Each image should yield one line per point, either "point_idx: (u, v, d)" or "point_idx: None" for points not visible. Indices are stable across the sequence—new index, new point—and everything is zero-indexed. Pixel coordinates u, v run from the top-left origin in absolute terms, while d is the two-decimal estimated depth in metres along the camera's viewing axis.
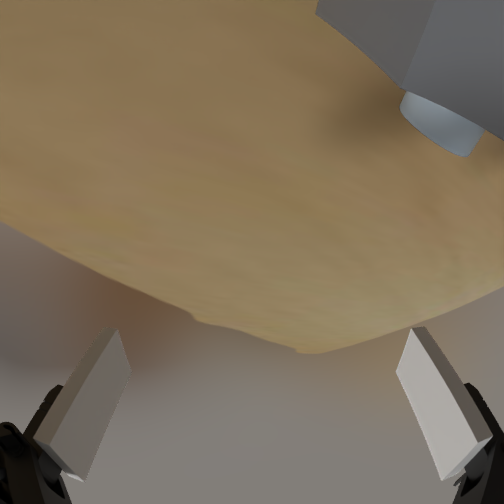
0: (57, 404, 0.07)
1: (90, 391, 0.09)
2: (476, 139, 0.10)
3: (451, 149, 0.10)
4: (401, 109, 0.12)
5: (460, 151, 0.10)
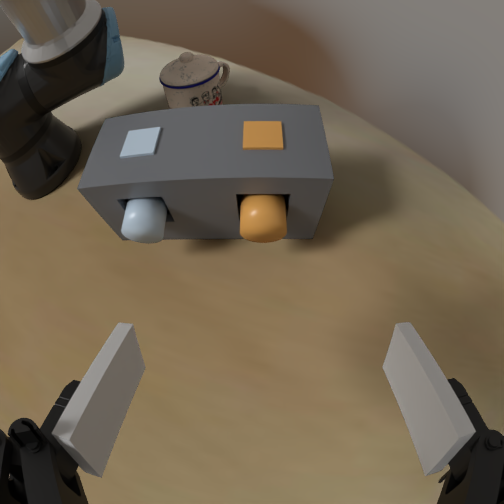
0: (75, 399, 0.08)
1: (108, 386, 0.09)
2: (144, 213, 0.27)
3: (130, 222, 0.26)
4: (125, 235, 0.29)
5: (136, 221, 0.26)
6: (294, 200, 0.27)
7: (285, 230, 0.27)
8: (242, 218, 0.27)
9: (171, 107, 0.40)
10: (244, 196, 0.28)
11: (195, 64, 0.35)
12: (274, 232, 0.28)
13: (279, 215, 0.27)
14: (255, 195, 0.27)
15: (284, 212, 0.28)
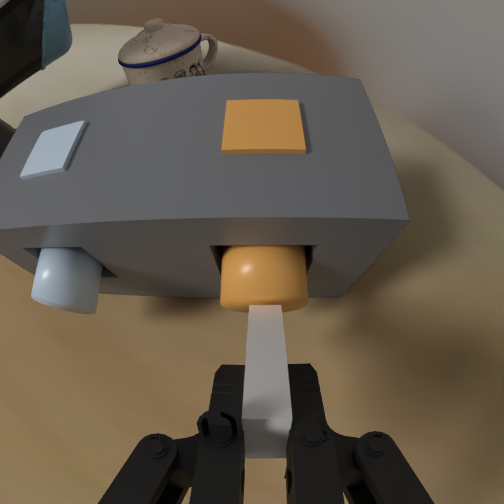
0: (250, 379, 0.09)
1: None
2: (57, 276, 0.13)
3: (37, 292, 0.13)
4: (43, 302, 0.15)
5: (44, 290, 0.13)
6: (325, 253, 0.14)
7: (305, 301, 0.14)
8: (224, 280, 0.14)
9: None
10: None
11: (165, 32, 0.22)
12: (284, 303, 0.15)
13: (295, 276, 0.14)
14: None
15: (304, 266, 0.15)
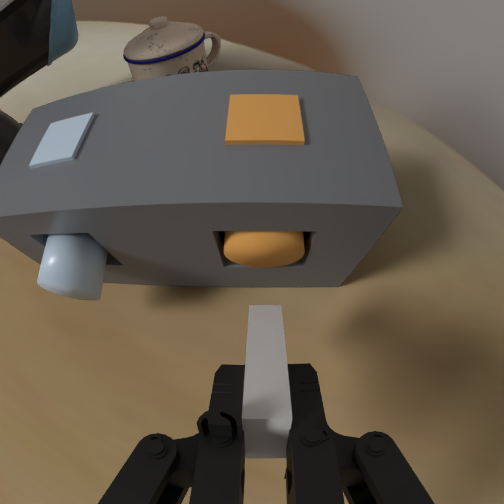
0: (250, 379, 0.09)
1: None
2: (63, 261, 0.14)
3: (44, 277, 0.14)
4: (48, 289, 0.16)
5: (50, 275, 0.14)
6: (322, 241, 0.15)
7: (302, 250, 0.16)
8: None
9: None
10: None
11: (169, 30, 0.22)
12: (283, 253, 0.16)
13: None
14: None
15: None
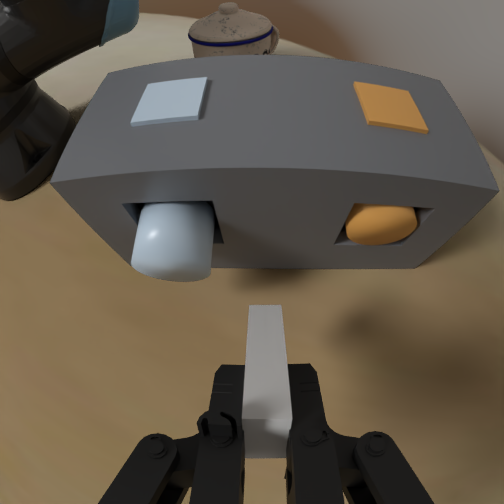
0: (250, 379, 0.09)
1: None
2: (177, 233, 0.14)
3: (150, 250, 0.14)
4: None
5: (161, 248, 0.14)
6: (433, 218, 0.15)
7: (414, 227, 0.16)
8: (354, 204, 0.16)
9: None
10: None
11: (241, 16, 0.22)
12: (398, 229, 0.16)
13: None
14: None
15: None
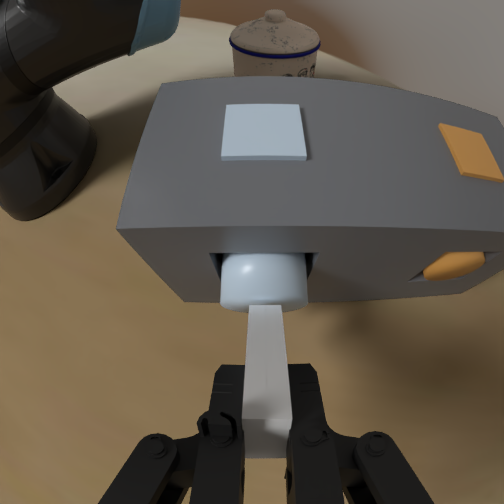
0: (250, 379, 0.09)
1: None
2: (282, 269, 0.13)
3: (255, 290, 0.13)
4: None
5: (268, 287, 0.13)
6: (497, 258, 0.14)
7: (480, 265, 0.15)
8: None
9: None
10: None
11: (290, 26, 0.21)
12: (467, 268, 0.15)
13: None
14: None
15: None
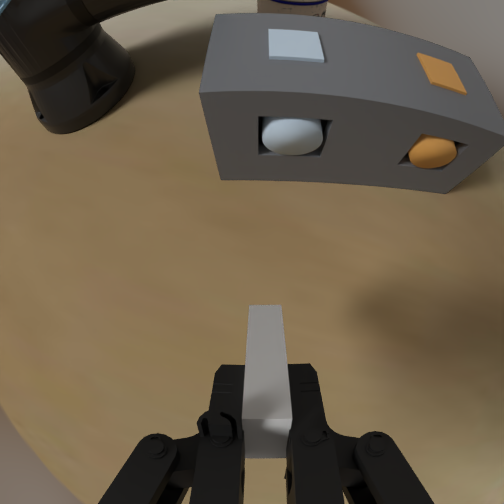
0: (250, 379, 0.09)
1: None
2: None
3: (289, 120, 0.18)
4: (262, 140, 0.21)
5: (297, 118, 0.18)
6: (467, 152, 0.18)
7: (454, 156, 0.19)
8: None
9: None
10: None
11: None
12: (443, 157, 0.20)
13: None
14: None
15: None
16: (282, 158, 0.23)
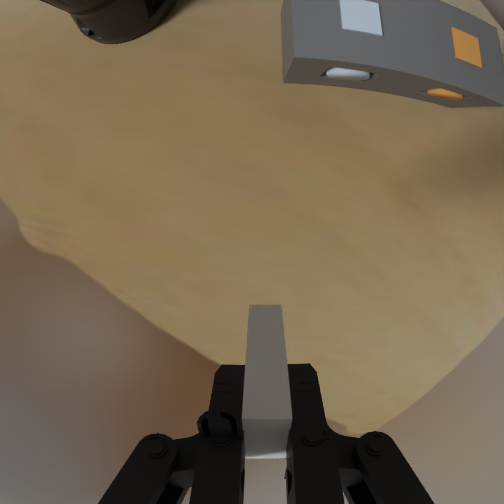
0: (250, 379, 0.09)
1: None
2: None
3: (350, 70, 0.22)
4: (326, 73, 0.25)
5: None
6: (470, 100, 0.22)
7: (460, 99, 0.23)
8: None
9: None
10: None
11: None
12: (452, 97, 0.24)
13: None
14: None
15: None
16: (336, 79, 0.27)
